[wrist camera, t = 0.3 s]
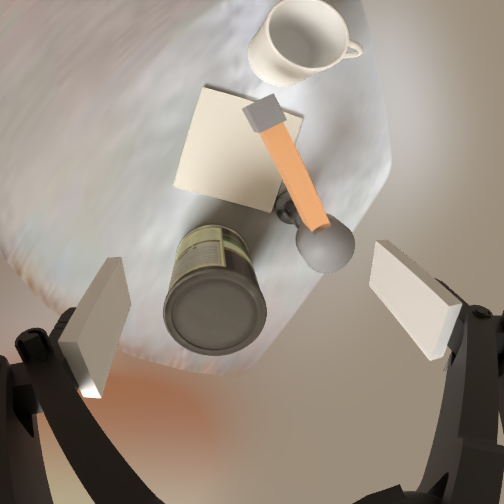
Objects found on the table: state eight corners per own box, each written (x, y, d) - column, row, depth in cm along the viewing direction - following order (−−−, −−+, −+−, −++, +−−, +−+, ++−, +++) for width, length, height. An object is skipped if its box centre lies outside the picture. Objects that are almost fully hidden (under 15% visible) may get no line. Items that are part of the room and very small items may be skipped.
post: (281, 186, 41) (306, 209, 31) (311, 195, 42) (345, 221, 32) (270, 217, 43) (291, 250, 32) (300, 225, 44) (329, 260, 33)
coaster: (202, 87, 35) (202, 87, 35) (301, 118, 38) (303, 118, 37) (173, 186, 39) (173, 186, 39) (270, 211, 42) (270, 213, 42)
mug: (339, 39, 34) (383, 16, 23) (333, 96, 37) (377, 90, 26) (251, 21, 32) (268, -15, 21) (243, 81, 35) (257, 64, 24)
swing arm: (348, 245, 33) (362, 258, 29) (306, 267, 33) (317, 283, 30) (278, 91, 26) (288, 86, 23) (228, 115, 26) (230, 113, 23)
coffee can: (258, 232, 43) (280, 281, 30) (239, 297, 47) (251, 362, 34) (182, 216, 41) (171, 260, 28) (169, 284, 45) (157, 347, 32)
